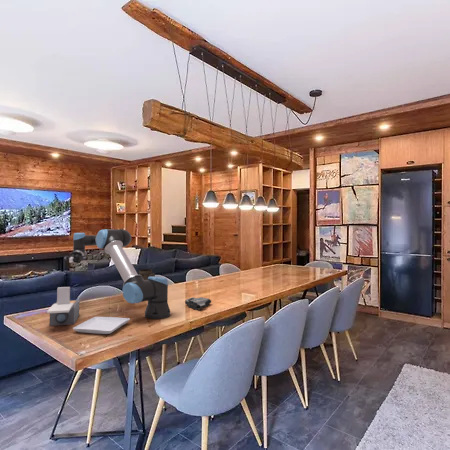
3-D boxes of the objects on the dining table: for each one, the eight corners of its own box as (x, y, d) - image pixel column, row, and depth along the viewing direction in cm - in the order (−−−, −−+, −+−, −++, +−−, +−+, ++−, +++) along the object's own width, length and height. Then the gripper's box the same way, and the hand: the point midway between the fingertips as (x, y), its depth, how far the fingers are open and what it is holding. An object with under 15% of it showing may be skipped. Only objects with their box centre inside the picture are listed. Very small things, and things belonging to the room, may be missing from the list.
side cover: (68, 312, 165) (68, 292, 165) (46, 313, 162) (46, 293, 162) (73, 304, 180) (74, 286, 180) (54, 305, 177) (54, 287, 177)
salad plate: (71, 334, 161) (71, 327, 161) (95, 321, 182) (95, 315, 182) (110, 337, 157) (110, 330, 157) (130, 324, 178) (130, 318, 178)
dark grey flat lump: (212, 304, 224) (212, 296, 224) (202, 311, 204) (202, 303, 204) (190, 302, 228) (190, 295, 228) (178, 309, 208) (178, 301, 208)
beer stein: (134, 296, 243) (135, 269, 242) (142, 293, 253) (144, 268, 252) (151, 299, 237) (153, 272, 237) (159, 296, 247) (161, 270, 247)
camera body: (73, 325, 173) (73, 308, 173) (48, 327, 170) (48, 309, 170) (79, 314, 193) (79, 299, 193) (56, 316, 190) (57, 300, 189)
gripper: (87, 261, 221) (82, 266, 198) (66, 262, 217) (58, 266, 194) (87, 250, 221) (82, 254, 198) (66, 250, 217) (58, 254, 194)
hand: (70, 260), depth 196 cm, fingers closed
